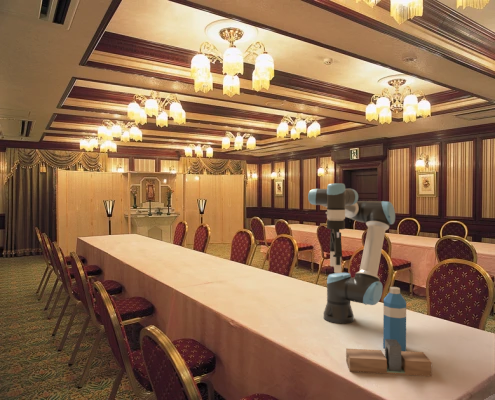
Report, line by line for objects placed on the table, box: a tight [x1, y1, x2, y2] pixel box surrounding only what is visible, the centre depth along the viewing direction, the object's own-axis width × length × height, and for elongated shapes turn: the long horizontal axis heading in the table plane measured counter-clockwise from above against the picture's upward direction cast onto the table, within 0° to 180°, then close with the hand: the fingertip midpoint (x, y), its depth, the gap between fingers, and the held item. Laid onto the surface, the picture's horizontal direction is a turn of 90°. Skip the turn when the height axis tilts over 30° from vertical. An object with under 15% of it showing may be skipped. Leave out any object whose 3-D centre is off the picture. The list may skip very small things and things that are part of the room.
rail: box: [345, 348, 433, 377], centre depth 132 cm, size 8×28×5 cm, turn 84°
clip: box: [384, 339, 401, 372], centre depth 132 cm, size 6×4×9 cm, turn 173°
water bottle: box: [382, 286, 407, 351], centre depth 150 cm, size 9×9×25 cm
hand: (335, 269), depth 155 cm, fingers open, 13 cm apart
